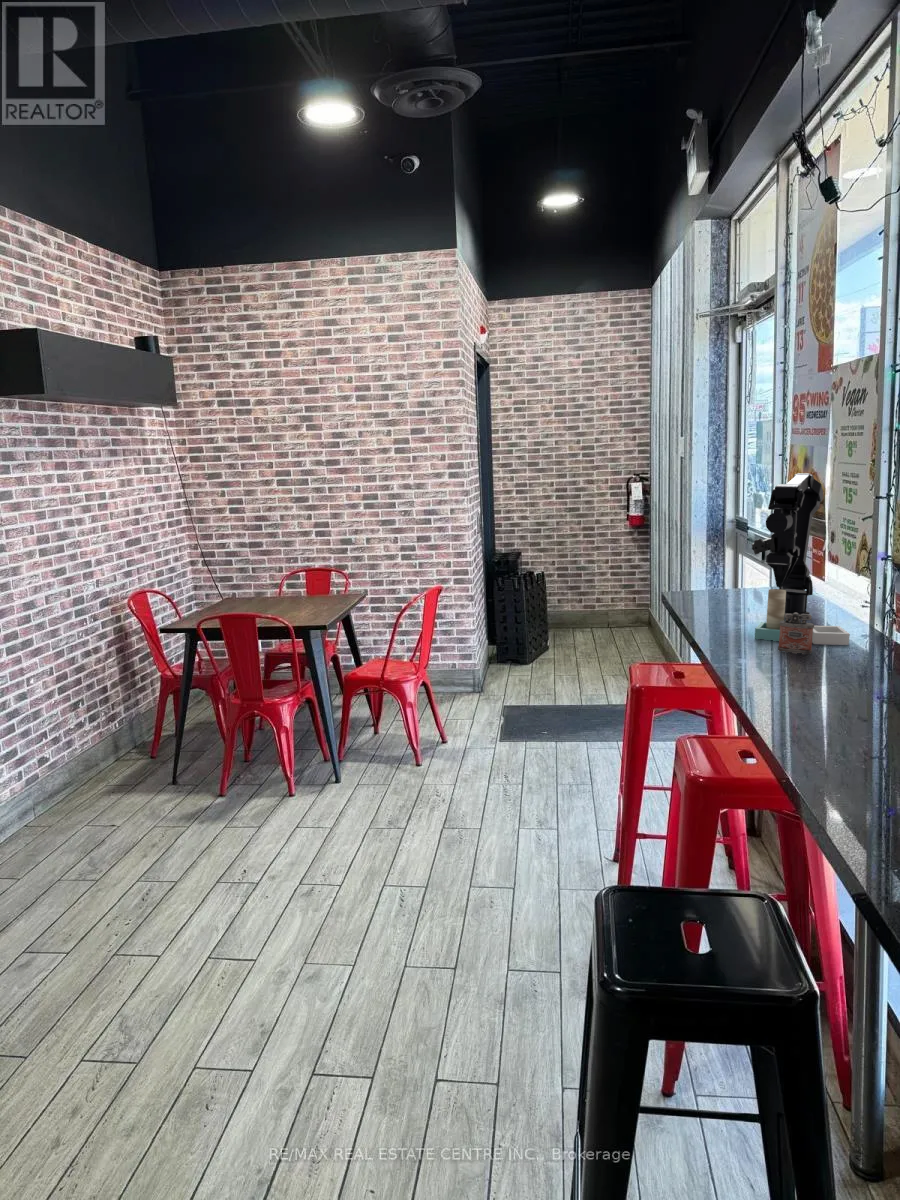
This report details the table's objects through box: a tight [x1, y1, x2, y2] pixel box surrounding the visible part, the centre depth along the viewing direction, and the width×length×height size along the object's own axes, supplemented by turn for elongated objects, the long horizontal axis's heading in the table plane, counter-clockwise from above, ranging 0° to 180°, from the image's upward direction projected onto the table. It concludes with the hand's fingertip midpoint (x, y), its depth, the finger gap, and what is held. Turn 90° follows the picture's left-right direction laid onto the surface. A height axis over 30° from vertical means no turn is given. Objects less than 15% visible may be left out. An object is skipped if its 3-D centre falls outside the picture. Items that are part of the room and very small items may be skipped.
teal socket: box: [754, 621, 780, 642], centre depth 224 cm, size 9×9×3 cm
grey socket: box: [812, 625, 851, 646], centre depth 220 cm, size 9×9×3 cm
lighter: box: [777, 612, 815, 655], centre depth 209 cm, size 8×3×10 cm, turn 62°
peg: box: [766, 588, 786, 630], centre depth 223 cm, size 4×4×13 cm
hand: (781, 584), depth 236 cm, fingers open, 9 cm apart
